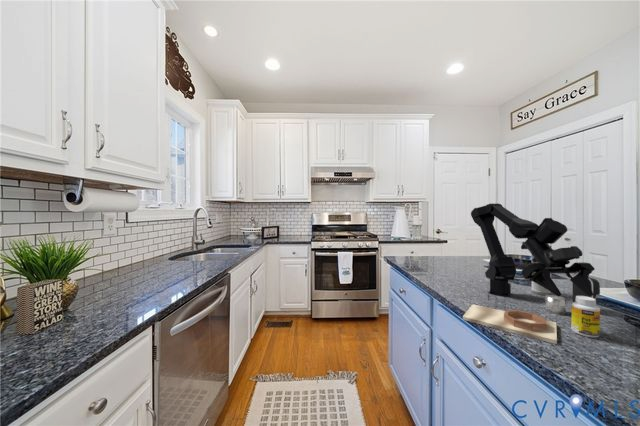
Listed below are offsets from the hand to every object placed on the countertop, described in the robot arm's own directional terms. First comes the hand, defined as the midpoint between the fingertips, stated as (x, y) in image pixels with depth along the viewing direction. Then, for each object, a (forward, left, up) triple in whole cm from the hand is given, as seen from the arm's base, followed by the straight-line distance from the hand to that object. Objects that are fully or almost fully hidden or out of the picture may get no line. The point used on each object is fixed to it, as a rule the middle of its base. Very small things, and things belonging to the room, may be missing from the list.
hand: (575, 295), depth 73 cm
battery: (+4, +23, -10) cm, 25 cm away
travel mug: (-8, +35, -10) cm, 37 cm away
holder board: (-15, -8, -10) cm, 20 cm away
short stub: (-4, +13, -10) cm, 17 cm away
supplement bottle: (+2, -2, -10) cm, 10 cm away
